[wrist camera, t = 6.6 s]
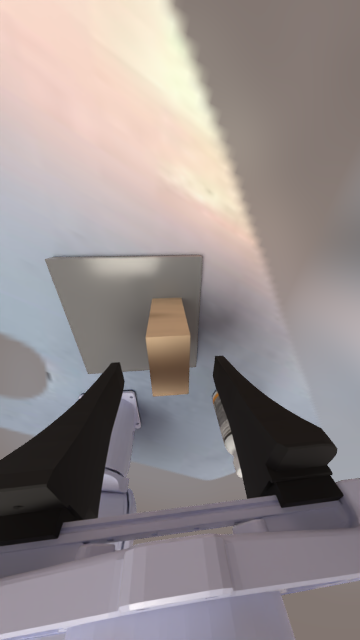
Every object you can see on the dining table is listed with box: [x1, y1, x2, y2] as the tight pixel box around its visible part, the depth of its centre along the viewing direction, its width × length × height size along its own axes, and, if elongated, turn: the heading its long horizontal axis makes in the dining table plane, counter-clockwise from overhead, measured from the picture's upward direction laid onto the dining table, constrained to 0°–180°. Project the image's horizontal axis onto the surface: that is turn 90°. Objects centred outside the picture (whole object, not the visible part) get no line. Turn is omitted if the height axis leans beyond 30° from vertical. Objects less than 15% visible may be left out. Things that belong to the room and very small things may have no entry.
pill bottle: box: [213, 391, 243, 478], centre depth 23 cm, size 6×6×10 cm
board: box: [45, 255, 202, 374], centre depth 19 cm, size 14×14×1 cm
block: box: [146, 298, 190, 396], centre depth 16 cm, size 6×3×7 cm, turn 0°
